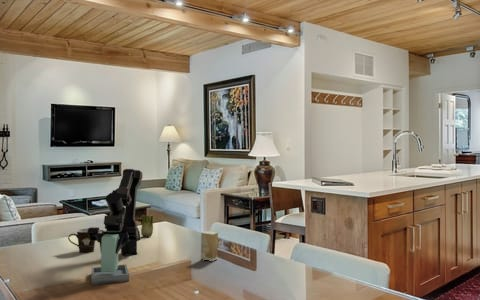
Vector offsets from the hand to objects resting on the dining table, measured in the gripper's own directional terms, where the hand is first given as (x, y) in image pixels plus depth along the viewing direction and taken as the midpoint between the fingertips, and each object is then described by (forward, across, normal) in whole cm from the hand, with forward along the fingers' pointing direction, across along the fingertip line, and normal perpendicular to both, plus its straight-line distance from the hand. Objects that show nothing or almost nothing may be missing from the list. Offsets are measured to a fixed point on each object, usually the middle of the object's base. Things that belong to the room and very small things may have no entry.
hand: (108, 253), depth 151 cm
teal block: (+4, 0, +6) cm, 7 cm away
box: (+6, 0, +8) cm, 10 cm away
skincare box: (-10, +37, +24) cm, 45 cm away
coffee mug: (-21, -22, +35) cm, 46 cm away
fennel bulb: (-42, +2, +56) cm, 70 cm away
